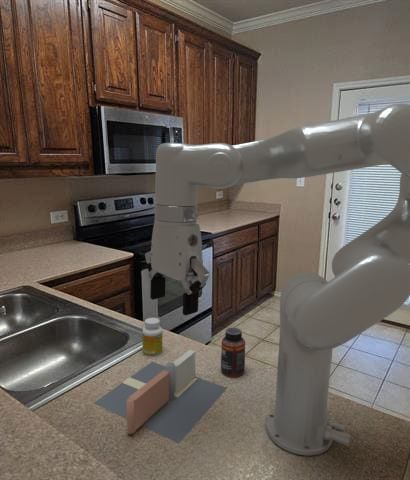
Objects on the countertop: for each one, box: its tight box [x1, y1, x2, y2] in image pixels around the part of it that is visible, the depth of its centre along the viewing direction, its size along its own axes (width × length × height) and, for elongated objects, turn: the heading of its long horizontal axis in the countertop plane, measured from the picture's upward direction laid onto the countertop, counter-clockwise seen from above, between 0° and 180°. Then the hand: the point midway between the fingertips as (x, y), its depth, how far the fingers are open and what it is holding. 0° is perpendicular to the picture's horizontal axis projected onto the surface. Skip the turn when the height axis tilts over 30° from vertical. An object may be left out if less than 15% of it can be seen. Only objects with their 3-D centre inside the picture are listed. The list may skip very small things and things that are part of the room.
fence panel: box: [126, 370, 170, 435], centre depth 71 cm, size 12×2×7 cm, turn 150°
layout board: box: [93, 349, 228, 444], centre depth 78 cm, size 22×20×8 cm
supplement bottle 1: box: [141, 317, 163, 358], centre depth 97 cm, size 5×5×10 cm
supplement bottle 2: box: [220, 327, 246, 379], centre depth 88 cm, size 6×6×11 cm
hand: (173, 305), depth 66 cm, fingers open, 9 cm apart
